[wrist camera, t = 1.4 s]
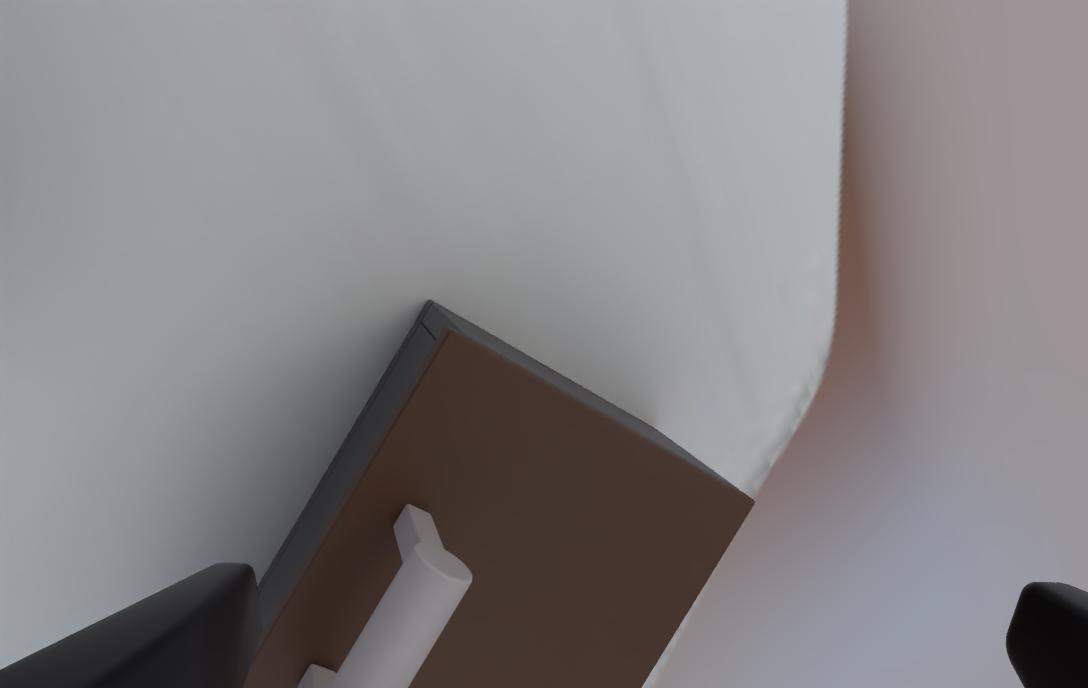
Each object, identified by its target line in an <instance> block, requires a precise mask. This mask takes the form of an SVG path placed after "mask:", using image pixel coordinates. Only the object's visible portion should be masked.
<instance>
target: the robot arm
mask: <svg viewBox="0 0 1088 688" xmlns="http://www.w3.org/2000/svg"><path fill="white" fill-rule="evenodd" d="M261 627H262V620H261V612H260V605H259V598H258V591H257V584H256V577H255V573H254V570H253V568H252V567H251V566H250V565H249V564H239V563H218V564H214V565H212V566H210V567H208V568H206V569H204V570H202V571H200V572H198V573H196V574H194V575H192V576H190V577H188V578H186V579H184V580H182V581H180V582H177V583H175V584H173V585H171V586H169V587H167V588H165V589H163V590H161V591H159V592H157V593H155V594H153V595H151V596H149V597H147V598H145V599H143V600H141V601H139V602H137V603H135V604H133V605H131V606H129V607H127V608H125V609H123V610H121V611H119V612H117V613H115V614H113V615H110V616H108V617H106V618H104V619H102V620H100V621H98V622H96V623H94V624H92V625H90V626H88V627H86V628H84V629H82V630H80V631H78V632H76V633H74V634H72V635H70V636H68V637H66V638H64V639H62V640H60V641H58V642H56V643H54V644H52V645H50V646H48V647H46V648H44V649H41V650H39V651H37V652H35V653H33V654H31V655H29V656H27V657H25V658H23V659H21V660H19V661H17V662H15V663H13V664H11V665H9V666H7V667H5V668H3V669H1V670H0V688H244V685H245V682H246V679H247V676H248V673H249V670H250V667H251V664H252V662H253V659H254V656H255V653H256V650H257V647H258V644H259V640H260V635H261ZM1006 648H1007V653H1008V656H1009V659H1010V661H1011V664H1012V665H1013V667H1014V669H1015V671H1016V673H1017V675H1018V676H1019V678H1020V680H1021V682H1022V684H1023V686H1024V687H1025V688H1088V592H1086V591H1083V590H1080V589H1078V588H1076V587H1073V586H1070V585H1068V584H1063V583H1052V582H1032V583H1029V584H1027V585H1026V586H1025V587H1024V588H1023V590H1022V592H1021V595H1020V597H1019V600H1018V603H1017V606H1016V609H1015V612H1014V615H1013V617H1012V620H1011V623H1010V626H1009V629H1008V632H1007V636H1006Z"/></svg>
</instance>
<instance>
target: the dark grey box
mask: <svg viewBox="0 0 1088 688" xmlns="http://www.w3.org/2000/svg"><path fill="white" fill-rule="evenodd" d="M445 326H450V327H452V328H454V329H455V330H457V331H459V332H461V333H462V334H464V335H466V336H468V337H469V338H471V339H473V340H475V341H477V342H478V343H480V344H482V345H484V346H485V347H487V348H489V349H491V350H492V351H494V352H496V353H498V354H499V355H501V356H503V357H505V358H507V359H508V360H510V361H512V362H514V363H515V364H517V365H519V366H521V367H522V368H524V369H526V370H528V371H530V372H531V373H533V374H535V375H537V376H538V377H540V378H542V379H544V380H545V381H547V382H549V383H551V384H552V385H554V386H556V387H558V388H560V389H561V390H563V391H565V392H567V393H568V394H570V395H572V396H574V397H575V398H577V399H579V400H581V401H583V402H584V403H586V404H588V405H590V406H591V407H593V408H595V409H597V410H598V411H600V412H602V413H604V414H606V415H607V416H609V417H611V418H613V419H614V420H616V421H618V422H620V423H621V424H623V425H625V426H627V427H628V428H630V429H632V430H634V431H636V432H637V433H639V434H641V435H643V436H644V437H646V438H648V439H650V440H651V441H653V442H655V443H657V444H659V445H660V446H662V447H664V448H666V449H667V450H669V451H671V452H673V453H674V454H676V455H678V456H680V457H681V458H683V459H685V460H687V461H689V462H690V463H692V464H694V465H696V466H697V467H699V468H701V469H703V470H704V471H706V472H708V473H710V474H712V475H713V476H715V477H717V478H719V479H720V480H722V481H724V482H726V483H727V484H729V485H731V486H733V487H735V486H734V485H732V484H731V483H730V482H728V481H727V480H725V479H724V478H723V477H721V476H720V475H719V474H717V473H716V472H714V471H713V470H712V469H710V468H709V467H708V466H706V465H705V464H703V463H702V462H701V461H699V460H698V459H697V458H695V457H694V456H692V455H691V454H690V453H688V452H687V451H686V450H684V449H683V448H681V447H680V446H679V445H677V444H676V443H675V442H673V441H672V440H670V439H669V438H668V437H666V436H665V435H663V434H662V433H661V432H659V431H658V430H657V429H655V428H653V427H652V426H650V425H648V424H646V423H645V422H643V421H641V420H639V419H638V418H636V417H634V416H632V415H631V414H629V413H627V412H625V411H624V410H622V409H620V408H618V407H617V406H615V405H613V404H611V403H610V402H608V401H606V400H604V399H603V398H601V397H599V396H598V395H596V394H594V393H592V392H591V391H589V390H587V389H585V388H584V387H582V386H580V385H578V384H577V383H575V382H573V381H571V380H570V379H568V378H566V377H564V376H563V375H561V374H559V373H557V372H556V371H554V370H552V369H551V368H549V367H547V366H545V365H544V364H542V363H540V362H538V361H537V360H535V359H533V358H531V357H530V356H528V355H526V354H524V353H523V352H521V351H519V350H517V349H516V348H514V347H512V346H510V345H509V344H507V343H505V342H504V341H502V340H500V339H498V338H497V337H495V336H493V335H491V334H490V333H488V332H486V331H484V330H483V329H481V328H479V327H477V326H476V325H474V324H472V323H470V322H469V321H467V320H465V319H463V318H462V317H460V316H458V315H457V314H455V313H453V312H451V311H450V310H448V309H446V308H444V307H443V306H441V305H439V304H437V303H436V302H434V301H432V300H428V302H427V303H426V305H425V307H424V308H423V310H422V312H421V313H420V315H419V317H418V318H417V320H416V322H415V323H414V325H413V327H412V328H411V330H410V332H409V333H408V335H407V337H406V338H405V340H404V342H403V344H402V345H401V347H400V349H399V350H398V352H397V354H396V355H395V357H394V359H393V360H392V362H391V364H390V365H389V367H388V369H387V370H386V372H385V374H384V375H383V377H382V379H381V380H380V382H379V384H378V385H377V387H376V389H375V391H374V392H373V394H372V396H371V397H370V399H369V401H368V402H367V404H366V406H365V407H364V409H363V411H362V412H361V414H360V416H359V417H358V419H357V421H356V422H355V424H354V426H353V427H352V429H351V431H350V433H349V434H348V436H347V438H346V439H345V441H344V443H343V444H342V446H341V448H340V449H339V451H338V453H337V454H336V456H335V458H334V459H333V461H332V463H331V464H330V466H329V468H328V469H327V471H326V473H325V475H324V476H323V478H322V480H321V481H320V483H319V485H318V486H317V488H316V490H315V491H314V493H313V495H312V496H311V498H310V500H309V501H308V503H307V505H306V506H305V508H304V510H303V511H302V513H301V515H300V516H299V518H298V520H297V522H296V523H295V525H294V527H293V528H292V530H291V532H290V533H289V535H288V537H287V538H286V540H285V542H284V543H283V545H282V547H281V548H280V550H279V552H278V553H277V555H276V557H275V558H274V560H273V562H272V564H271V565H270V567H269V569H268V570H267V572H266V574H265V575H264V577H263V579H262V580H261V582H260V584H259V585H258V587H257V591H258V598H259V605H260V612H261V620H262V627H261V632H262V631H263V629H264V627H265V626H266V624H267V622H268V621H269V619H270V617H271V616H272V614H273V612H274V611H275V609H276V607H277V606H278V604H279V602H280V601H281V599H282V597H283V596H284V594H285V592H286V591H287V589H288V587H289V586H290V584H291V582H292V581H293V579H294V577H295V576H296V574H297V572H298V570H299V569H300V567H301V565H302V564H303V562H304V560H305V559H306V557H307V555H308V554H309V552H310V550H311V549H312V547H313V545H314V544H315V542H316V540H317V539H318V537H319V535H320V534H321V532H322V530H323V529H324V527H325V525H326V524H327V522H328V520H329V519H330V517H331V515H332V514H333V512H334V510H335V508H336V507H337V505H338V503H339V502H340V500H341V498H342V497H343V495H344V493H345V492H346V490H347V488H348V487H349V485H350V483H351V482H352V480H353V478H354V477H355V475H356V473H357V472H358V470H359V468H360V467H361V465H362V463H363V462H364V460H365V458H366V457H367V455H368V453H369V452H370V450H371V448H372V446H373V445H374V443H375V441H376V440H377V438H378V436H379V435H380V433H381V431H382V430H383V428H384V426H385V425H386V423H387V421H388V420H389V418H390V416H391V415H392V413H393V411H394V410H395V408H396V406H397V405H398V403H399V401H400V400H401V398H402V396H403V395H404V393H405V391H406V390H407V388H408V386H409V384H410V383H411V381H412V379H413V378H414V376H415V374H416V373H417V371H418V369H419V368H420V366H421V364H422V363H423V361H424V359H425V358H426V356H427V354H428V353H429V351H430V349H431V348H432V346H433V344H434V343H435V341H436V339H437V338H438V336H439V334H440V333H441V331H442V329H443V328H444V327H445ZM735 488H736V487H735ZM736 489H738V488H736ZM738 490H739V489H738Z"/></svg>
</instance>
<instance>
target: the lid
mask: <svg viewBox="0 0 1088 688" xmlns="http://www.w3.org/2000/svg"><path fill="white" fill-rule="evenodd" d="M754 503H755V502H754V500H753V499H752V498H750V497H749V496H747V495H746V494H745V493H743V492H742V491H740V490H738V489H736V488H735V487H733V486H731V485H729V484H727V483H726V482H724V481H722V480H720V479H719V478H717V477H715V476H713V475H712V474H710V473H708V472H706V471H704V470H703V469H701V468H699V467H697V466H696V465H694V464H692V463H690V462H689V461H687V460H685V459H683V458H681V457H680V456H678V455H676V454H674V453H673V452H671V451H669V450H667V449H666V448H664V447H662V446H660V445H659V444H657V443H655V442H653V441H651V440H650V439H648V438H646V437H644V436H643V435H641V434H639V433H637V432H636V431H634V430H632V429H630V428H628V427H627V426H625V425H623V424H621V423H620V422H618V421H616V420H614V419H613V418H611V417H609V416H607V415H606V414H604V413H602V412H600V411H598V410H597V409H595V408H593V407H591V406H590V405H588V404H586V403H584V402H583V401H581V400H579V399H577V398H575V397H574V396H572V395H570V394H568V393H567V392H565V391H563V390H561V389H560V388H558V387H556V386H554V385H552V384H551V383H549V382H547V381H545V380H544V379H542V378H540V377H538V376H537V375H535V374H533V373H531V372H530V371H528V370H526V369H524V368H522V367H521V366H519V365H517V364H515V363H514V362H512V361H510V360H508V359H507V358H505V357H503V356H501V355H499V354H498V353H496V352H494V351H492V350H491V349H489V348H487V347H485V346H484V345H482V344H480V343H478V342H477V341H475V340H473V339H471V338H469V337H468V336H466V335H464V334H462V333H461V332H459V331H457V330H455V329H454V328H452V327H450V326H445V327H444V328H443V329H442V331H441V333H440V334H439V336H438V338H437V339H436V341H435V343H434V344H433V346H432V348H431V349H430V351H429V353H428V354H427V356H426V358H425V359H424V361H423V363H422V364H421V366H420V368H419V369H418V371H417V373H416V374H415V376H414V378H413V379H412V381H411V383H410V384H409V386H408V388H407V390H406V391H405V393H404V395H403V396H402V398H401V400H400V401H399V403H398V405H397V406H396V408H395V410H394V411H393V413H392V415H391V416H390V418H389V420H388V421H387V423H386V425H385V426H384V428H383V430H382V431H381V433H380V435H379V436H378V438H377V440H376V441H375V443H374V445H373V446H372V448H371V450H370V452H369V453H368V455H367V457H366V458H365V460H364V462H363V463H362V465H361V467H360V468H359V470H358V472H357V473H356V475H355V477H354V478H353V480H352V482H351V483H350V485H349V487H348V488H347V490H346V492H345V493H344V495H343V497H342V498H341V500H340V502H339V503H338V505H337V507H336V508H335V510H334V512H333V514H332V515H331V517H330V519H329V520H328V522H327V524H326V525H325V527H324V529H323V530H322V532H321V534H320V535H319V537H318V539H317V540H316V542H315V544H314V545H313V547H312V549H311V550H310V552H309V554H308V555H307V557H306V559H305V560H304V562H303V564H302V565H301V567H300V569H299V570H298V572H297V574H296V576H295V577H294V579H293V581H292V582H291V584H290V586H289V587H288V589H287V591H286V592H285V594H284V596H283V597H282V599H281V601H280V602H279V604H278V606H277V607H276V609H275V611H274V612H273V614H272V616H271V617H270V619H269V621H268V622H267V624H266V626H265V627H264V629H263V631H262V632H261V635H260V640H259V644H258V647H257V650H256V653H255V656H254V659H253V662H252V664H251V667H250V670H249V673H248V676H247V679H246V682H245V685H244V688H641V687H642V686H643V684H644V682H645V681H646V679H647V678H648V676H649V674H650V673H651V671H652V669H653V668H654V666H655V665H656V663H657V661H658V660H659V658H660V656H661V655H662V653H663V652H664V650H665V648H666V647H667V645H668V643H669V642H670V640H671V639H672V637H673V635H674V634H675V632H676V630H677V629H678V627H679V626H680V624H681V622H682V621H683V619H684V617H685V616H686V614H687V613H688V611H689V609H690V608H691V606H692V604H693V603H694V601H695V600H696V598H697V596H698V595H699V593H700V591H701V590H702V588H703V587H704V585H705V583H706V582H707V580H708V578H709V577H710V575H711V574H712V572H713V570H714V569H715V567H716V565H717V564H718V562H719V561H720V559H721V557H722V556H723V554H724V552H725V551H726V549H727V548H728V546H729V544H730V543H731V541H732V539H733V538H734V536H735V535H736V533H737V531H738V530H739V528H740V526H741V525H742V523H743V522H744V520H745V518H746V517H747V515H748V513H749V512H750V510H751V509H752V507H753V505H754Z"/></svg>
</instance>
